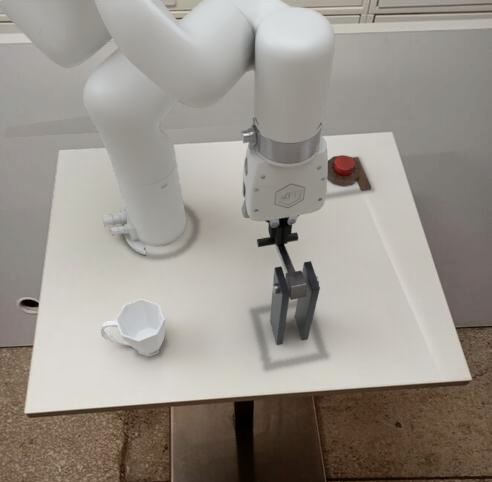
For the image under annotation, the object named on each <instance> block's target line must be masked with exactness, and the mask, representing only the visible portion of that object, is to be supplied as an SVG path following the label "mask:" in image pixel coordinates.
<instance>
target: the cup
mask: <svg viewBox="0 0 492 482" xmlns="http://www.w3.org/2000/svg"><path fill="white" fill-rule="evenodd" d="M100 326H101V327H100V334H101V337H102V338H103V339H105V340H106V341H109V342H111V343H115V344H119V345H123V346H128V347H132V348H133V349H135V350H136V351H138V354H140V355H143V356H145V357H148V358H150V357H152V356H155V355H157V354H160V352H161V346H162V344H163V342H164V341H165V336H166V318H165V314H164V313H163V310H162V307H161V305H160V303H158V302H155V301H153V300H149V299H146V298H144V297H141V298H139V299H136V300H133V301H130V302H127V303H125V304H123V306H122V308H121V309H120V311H119V313H118V315H117V317H116V318H115V319H114V320H106V321H104V322H103V323H101V325H100ZM108 327H112V328H113V327H114V328H118V330H119V333H120V336H121V337H122V338H120V337H116V336H113V335H111V334H108V333H107V332H106V331H105V329H106V328H108Z"/></svg>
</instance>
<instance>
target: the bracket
mask: <svg viewBox="0 0 492 482" xmlns="http://www.w3.org/2000/svg"><path fill="white" fill-rule="evenodd" d="M273 269H274V270H273V281H272V293H271V305H270V316H269V317H270V318H269V322H270V327H271V330H272V334H273V338H274V341H275V345H276V346H278V345H283V343H284V336H285V330H286V325H287V324H286V323H287V318H288V317H287V316H288V308H289V304H290V303H289V302H290V297H289V296H290V292H289V289H288V286H287V282H286V279H285V273H284V272H285V271H284V268H283V265H282V266H280V265H279V266H276V267H274V268H273ZM301 271H302V274H303V276H304V278H305V281H306V283H307V294H306V297H304V298H299V299H296V306H295V312H294V319H295V323H296V326H297V330H298V333H299V335H300V340H301V341H305V340H308V339H309V336H310V332H311V327H312V323H313V319H314V315H315V311H316V306H317V303H318V298H319V295H320V289H321V286H320V280H319V277H318V275H316V271H315V269H314V266H313V262H312V261H311V260H309V261H304V262H303V266H302V270H301Z"/></svg>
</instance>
